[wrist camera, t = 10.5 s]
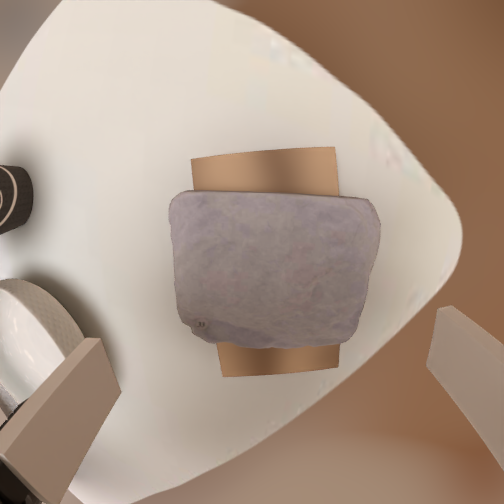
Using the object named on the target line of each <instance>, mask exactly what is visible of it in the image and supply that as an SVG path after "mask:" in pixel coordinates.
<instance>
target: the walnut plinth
mask: <svg viewBox="0 0 504 504" xmlns="http://www.w3.org/2000/svg"><path fill="white" fill-rule="evenodd" d="M191 166H192V176H193V185H194V190H212V191H254V192H280V193H301V194H315V195H332V196H339V188H338V175H337V163H336V153H335V147H313V148H293V149H278V150H265V151H254V152H244V153H235V154H226V155H218V156H211V157H203V158H196V159H191ZM216 344H217V349H218V355H219V360H220V365H221V370H222V375H223V377H236V376H258V375H273V374H285V373H296V372H305V371H314V370H322V369H330V368H337V367H338V363H339V348H340V344H334V345H326V346H318V347H312V346H308V345H307V346H304V347H301V348H289V349H284V348H274V347H270V348H262V349H256V348H246V347H239V346H237V345H235V344H233V343H228V342H221V343H216Z"/></svg>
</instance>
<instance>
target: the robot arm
mask: <svg viewBox="0 0 504 504" xmlns="http://www.w3.org/2000/svg"><path fill="white" fill-rule="evenodd" d="M426 366H427V368H428V369H429V370H430V371H431V373H432V374H433V375H434V376H435V377H436V379H437V380H438V381H439V382H440V384H441V385H442V386H443V388H444V389H445V390H446V391H447V393H448V394H449V395H450V397H451V398H452V399H453V400H454V402H455V403H456V404H457V406H458V407H459V408H460V410H461V411H462V412H463V414H464V415H465V416H466V418H467V419H468V420H469V422H470V423H471V424H472V426H473V427H474V429H475V430H476V431H477V433H478V434H479V435H480V437H481V438H482V440H483V441H484V442H485V444H486V445H487V447H488V448H489V450H490V451H491V453H492V454H493V455H494V457H495V459H496V460H497V461H498V463H499V464H500V466H501V468H502V469H503V471H504V345H503V344H502V343H500V342H499V341H498V340H497V339H495V338H494V337H493V336H492V335H490V334H489V333H488V332H486V331H485V330H484V329H483V328H481V327H480V326H479V325H477V324H476V323H474V322H473V321H472V320H471V319H469V318H468V317H467V316H465V315H464V314H463V313H461V312H460V311H459V310H457V309H456V308H454V307H453V306H447V307H443V308H439V309H437V315H436V321H435V327H434V332H433V337H432V342H431V347H430V351H429V355H428V359H427V363H426ZM120 394H121V389H120V387H119V385H118V382H117V380H116V377H115V375H114V372H113V370H112V367H111V365H110V362H109V359H108V357H107V354H106V351H105V348H104V345H103V342H102V340H101V338H87V337H86V338H85V339H84V340H83V341H82V342H81V343H80V344H79V345H78V346H77V347H76V348H75V349H74V351H73V352H72V353H71V354H70V355H69V356H68V357H67V358H66V359H65V360H64V361H63V362H62V363H61V364H60V365H59V366H58V367H57V368H56V369H55V370H54V371H53V372H52V373H51V374H50V376H49V377H48V378H47V379H46V380H45V381H44V382H43V383H42V384H41V385H40V386H39V387H38V389H37V390H36V391H35V392H34V393H33V394H32V395H31V396H30V397H29V398H28V399H26V400H25V401H23V402H22V403H21V404H20V405H19V406H18V407H17V408H16V409H15V410H14V411H13V412H14V413H12V414H11V415H10V416H9V417H8V420H6V421H5V422H4V423H3V424H2V425H1V427H0V504H41V503H42V502H44V503H46V504H60V502H61V500H62V498H63V496H64V494H65V492H66V491H67V489H68V487H69V485H70V483H71V481H72V479H73V477H74V475H75V473H76V472H77V470H78V468H79V466H80V464H81V462H82V460H83V459H84V457H85V455H86V453H87V451H88V450H89V448H90V446H91V444H92V442H93V441H94V439H95V437H96V435H97V433H98V432H99V430H100V428H101V426H102V425H103V423H104V421H105V419H106V418H107V416H108V414H109V413H110V411H111V409H112V407H113V406H114V404H115V402H116V401H117V399H118V397H119V395H120Z"/></svg>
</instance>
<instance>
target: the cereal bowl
mask: <svg viewBox="0 0 504 504" xmlns="http://www.w3.org/2000/svg"><path fill="white" fill-rule="evenodd" d="M84 339H85V338H84V336H83V334H82V332H81V331H80V328H79V327H78V325H77V324H76V322H75V321H74V320H73V318H72V317H71V316H70V314H69V313H68V312H67V310H66V309H65V308H64V307H63V306H62V305H61V304H60V303H59V302H58V301H57V300H56V299H55V298H54V297H52V295H50V294H49V293H48V292H47V291H45V290H43V289H42V288H40V287H39V286H37V285H34V284H33V283H30V282H27V281H24V280H19V279H5V280H0V383H1V384H2V386H3V387H4V388H5V389H6V391H7V392H8V393H9V394H10V395H11V396H12V397H13V398H14V399H15V400H16V401H17V402H18V403H19V404H21V403H22V402H23V401H25V400H26V399H28V398H29V397H30V396H31V395H32V394H33V393H34V392H35V391H36V390H37V389H38V387H39V386H40V385H41V384H42V383H43V382H44V381H45V380H46V379H47V378H48V377H49V376H50V374H51V373H52V372H53V371H54V370H55V369H56V368H57V367H58V366H59V365H60V364H61V363H62V362H63V361H64V360H65V359H66V358H67V357H68V356H69V355H70V354H71V353H72V352H73V351H74V349H75V348H76V347H77V346H78V345H79V344H80V343H81V342H82V341H83V340H84Z"/></svg>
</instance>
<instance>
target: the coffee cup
mask: <svg viewBox="0 0 504 504" xmlns="http://www.w3.org/2000/svg"><path fill="white" fill-rule="evenodd" d="M32 204H33V188H32V183H31V180H30V177H29V175H28V173H27V172H26V171H25V170H24V169H23V168H21V167H16V166H4V165H0V235H1V234H3V233H5V232H8V231H10V230H12V229H15V228H17V227H19V226H21V225H23V224H24V223H25V222H26V221H27V219H28V218H29V215H30V213H31V209H32Z"/></svg>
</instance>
